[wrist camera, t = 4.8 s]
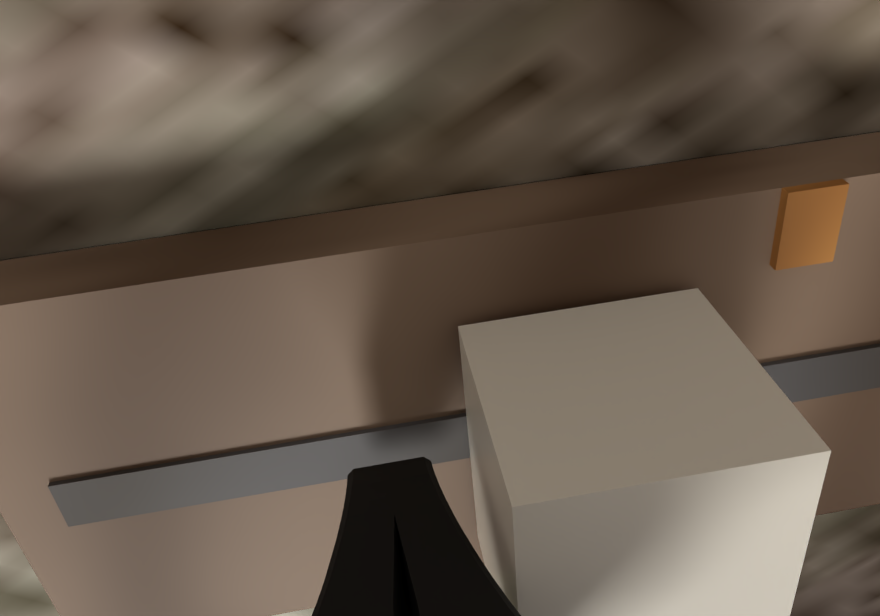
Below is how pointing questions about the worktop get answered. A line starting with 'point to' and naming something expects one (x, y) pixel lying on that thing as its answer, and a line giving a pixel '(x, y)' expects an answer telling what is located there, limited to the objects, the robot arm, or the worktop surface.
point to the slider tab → (636, 463)
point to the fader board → (388, 359)
